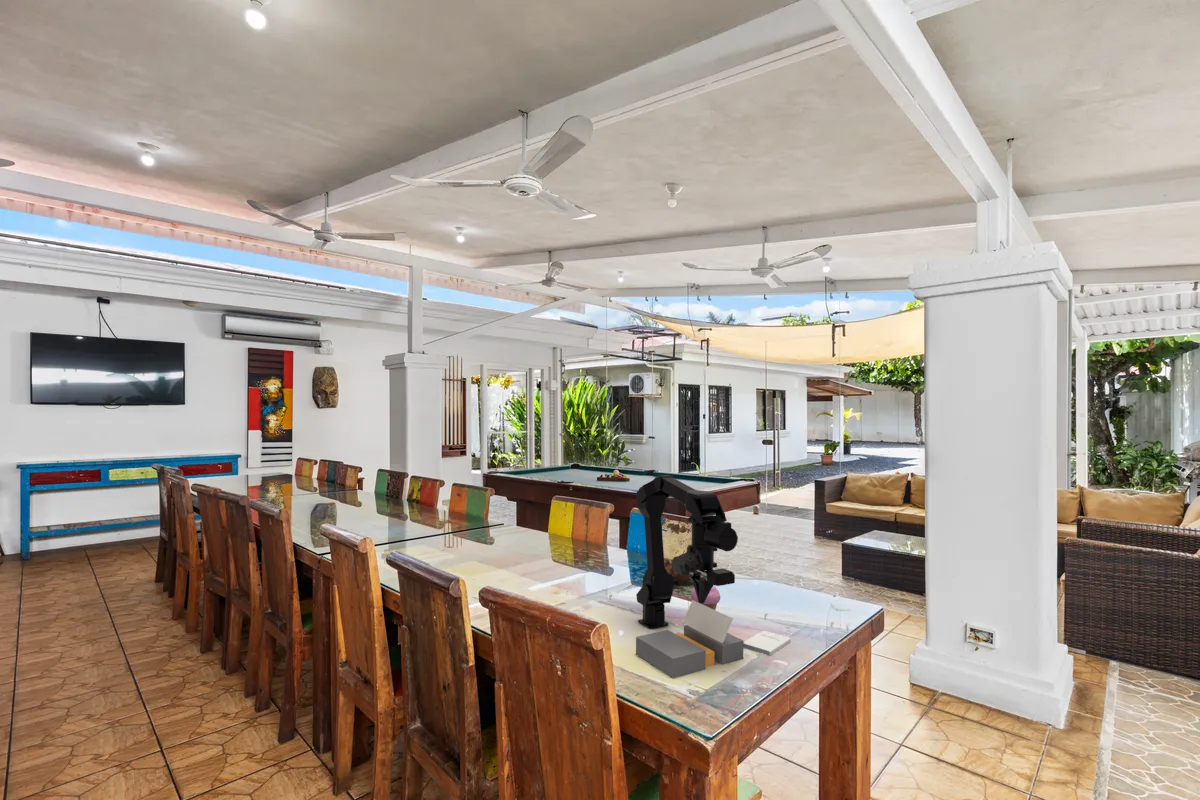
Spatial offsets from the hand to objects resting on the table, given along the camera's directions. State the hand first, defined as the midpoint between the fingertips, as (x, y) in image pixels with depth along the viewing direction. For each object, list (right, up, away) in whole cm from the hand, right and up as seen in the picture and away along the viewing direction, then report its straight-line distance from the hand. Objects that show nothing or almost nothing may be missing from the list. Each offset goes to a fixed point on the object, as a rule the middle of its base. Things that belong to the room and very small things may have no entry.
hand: (701, 603), depth 157 cm
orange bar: (-4, -12, -2) cm, 12 cm away
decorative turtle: (+2, -13, +61) cm, 62 cm away
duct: (-3, -13, -2) cm, 13 cm away
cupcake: (+5, -13, +26) cm, 30 cm away
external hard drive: (+18, -14, +7) cm, 24 cm away
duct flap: (+1, -5, +1) cm, 5 cm away
